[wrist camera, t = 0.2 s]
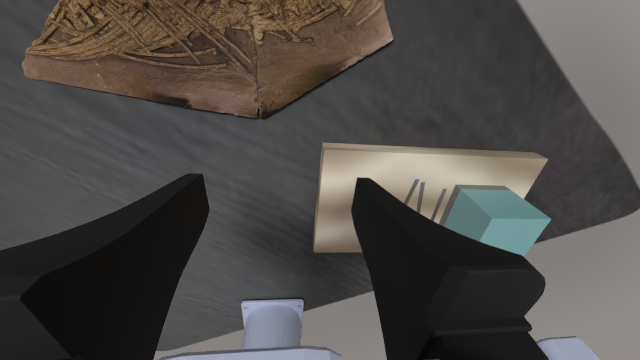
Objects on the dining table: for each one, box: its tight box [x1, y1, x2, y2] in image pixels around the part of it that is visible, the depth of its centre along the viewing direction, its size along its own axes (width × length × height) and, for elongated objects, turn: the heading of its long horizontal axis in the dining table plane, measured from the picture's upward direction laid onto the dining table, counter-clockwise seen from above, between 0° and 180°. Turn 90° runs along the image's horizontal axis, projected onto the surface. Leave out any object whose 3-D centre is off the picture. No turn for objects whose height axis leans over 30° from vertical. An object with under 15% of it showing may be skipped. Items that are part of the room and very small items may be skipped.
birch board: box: [313, 143, 548, 253], centre depth 25 cm, size 12×21×2 cm, turn 85°
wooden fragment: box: [22, 0, 394, 118], centre depth 16 cm, size 26×11×1 cm, turn 93°
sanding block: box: [439, 185, 551, 257], centre depth 23 cm, size 8×5×5 cm, turn 175°
